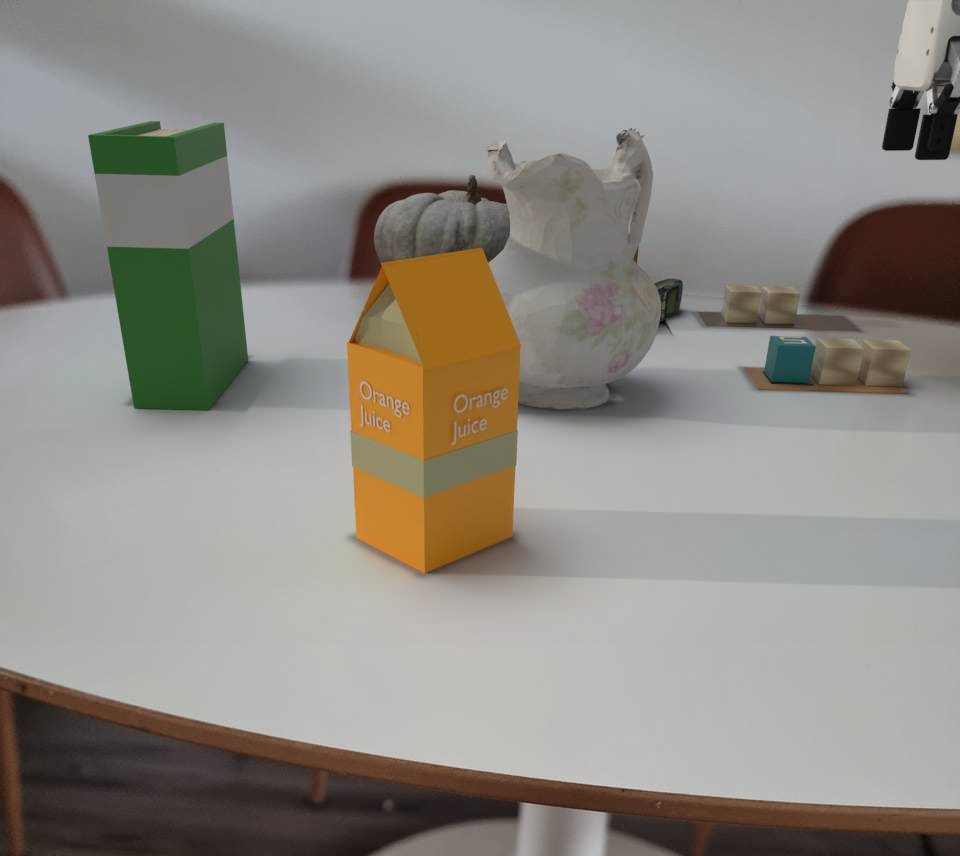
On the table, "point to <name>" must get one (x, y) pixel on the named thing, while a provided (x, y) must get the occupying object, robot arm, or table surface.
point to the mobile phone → (669, 297)
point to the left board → (799, 322)
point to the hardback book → (172, 260)
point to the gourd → (442, 225)
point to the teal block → (789, 359)
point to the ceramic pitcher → (576, 271)
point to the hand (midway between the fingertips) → (913, 154)
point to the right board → (848, 368)
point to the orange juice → (434, 410)
